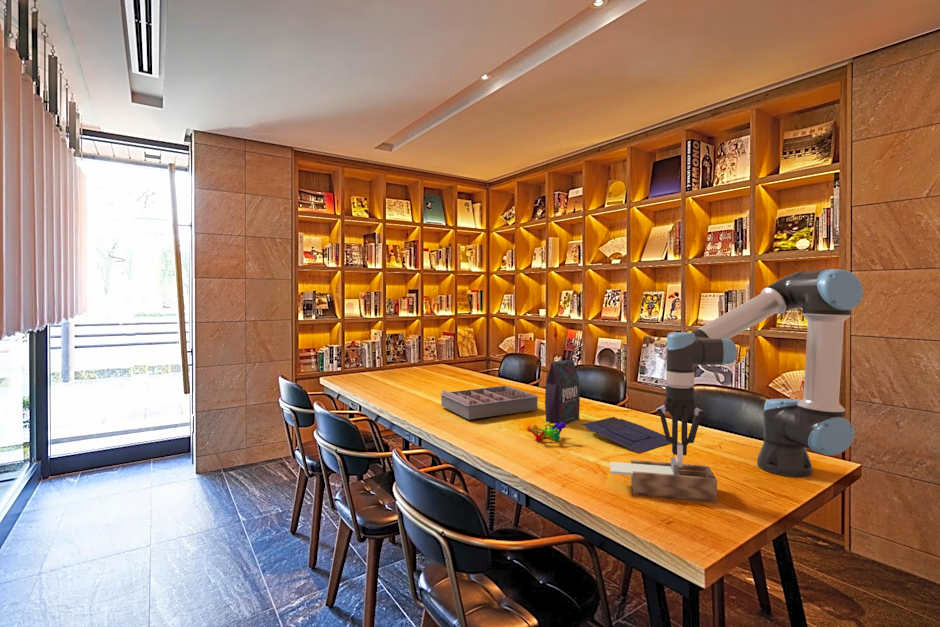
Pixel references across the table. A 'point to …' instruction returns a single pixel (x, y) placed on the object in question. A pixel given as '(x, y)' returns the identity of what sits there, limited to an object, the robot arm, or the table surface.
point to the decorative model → (547, 431)
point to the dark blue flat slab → (627, 434)
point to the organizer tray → (488, 401)
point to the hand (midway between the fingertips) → (679, 465)
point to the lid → (643, 468)
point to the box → (676, 483)
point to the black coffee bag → (562, 393)
